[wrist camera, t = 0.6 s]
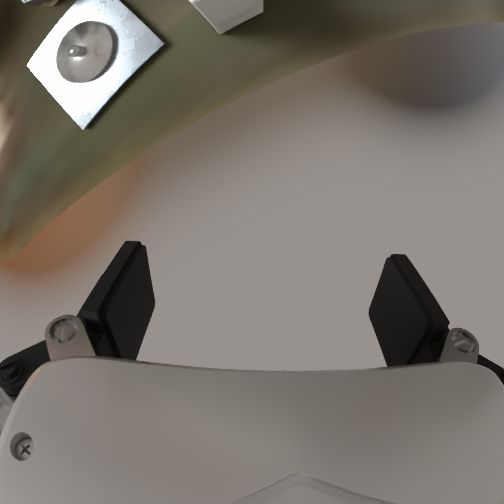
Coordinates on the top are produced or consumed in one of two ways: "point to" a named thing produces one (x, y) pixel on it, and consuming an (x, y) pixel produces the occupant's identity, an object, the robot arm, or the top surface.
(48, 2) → the stand
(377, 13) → the top surface
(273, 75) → the top surface
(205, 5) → the skincare box
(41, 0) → the plate ring
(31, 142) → the top surface
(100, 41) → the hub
